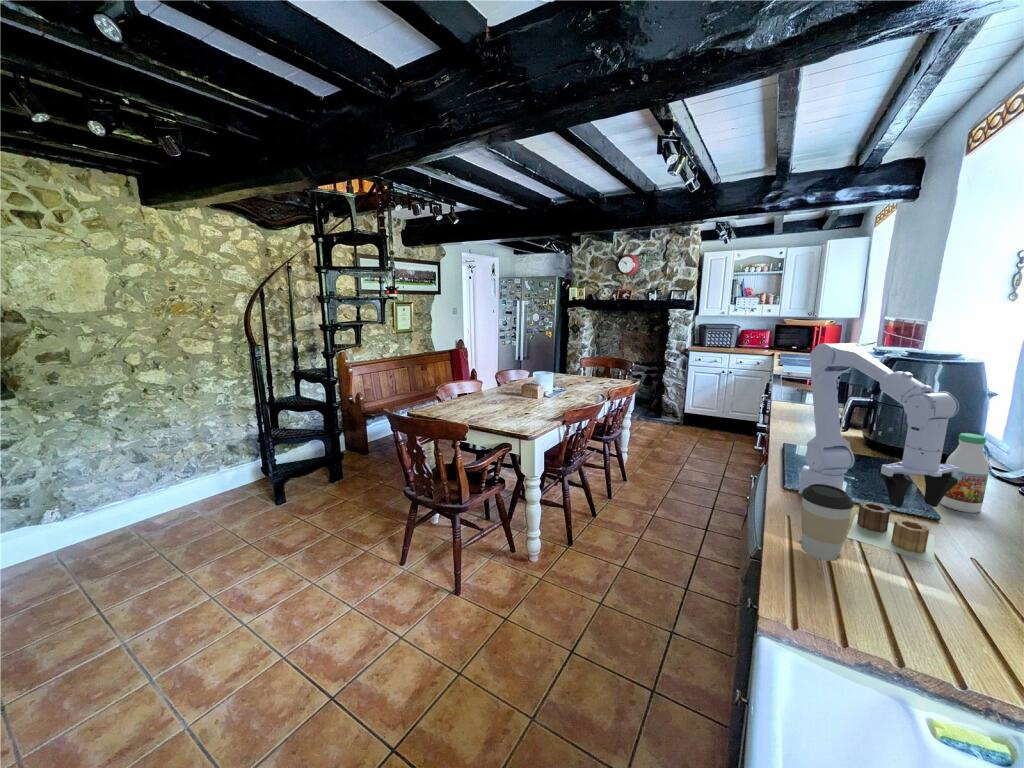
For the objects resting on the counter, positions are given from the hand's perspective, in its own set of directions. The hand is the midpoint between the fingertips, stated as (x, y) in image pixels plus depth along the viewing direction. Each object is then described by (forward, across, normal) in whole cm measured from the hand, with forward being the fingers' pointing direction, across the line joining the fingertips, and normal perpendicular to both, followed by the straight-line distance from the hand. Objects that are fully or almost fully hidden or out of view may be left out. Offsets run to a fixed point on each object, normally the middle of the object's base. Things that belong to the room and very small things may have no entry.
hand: (913, 505), depth 89 cm
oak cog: (+9, -2, -2) cm, 9 cm away
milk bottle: (+10, +30, +18) cm, 36 cm away
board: (+10, -2, +2) cm, 10 cm away
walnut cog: (+9, -3, +6) cm, 11 cm away
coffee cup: (+10, -21, -2) cm, 23 cm away
